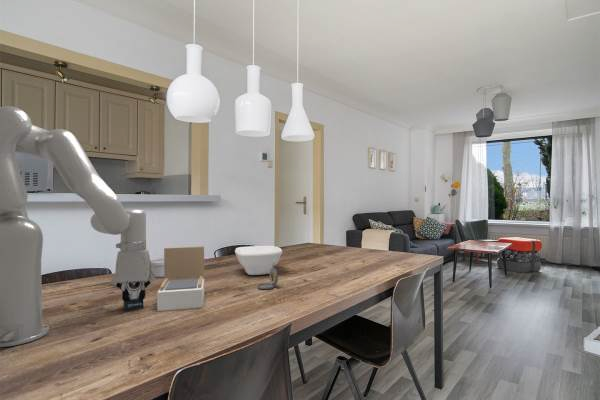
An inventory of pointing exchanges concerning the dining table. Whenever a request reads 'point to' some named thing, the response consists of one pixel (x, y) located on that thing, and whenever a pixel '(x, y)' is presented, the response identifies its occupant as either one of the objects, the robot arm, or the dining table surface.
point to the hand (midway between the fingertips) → (134, 301)
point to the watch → (133, 296)
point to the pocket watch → (272, 278)
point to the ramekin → (158, 267)
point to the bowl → (258, 258)
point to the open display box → (182, 279)
